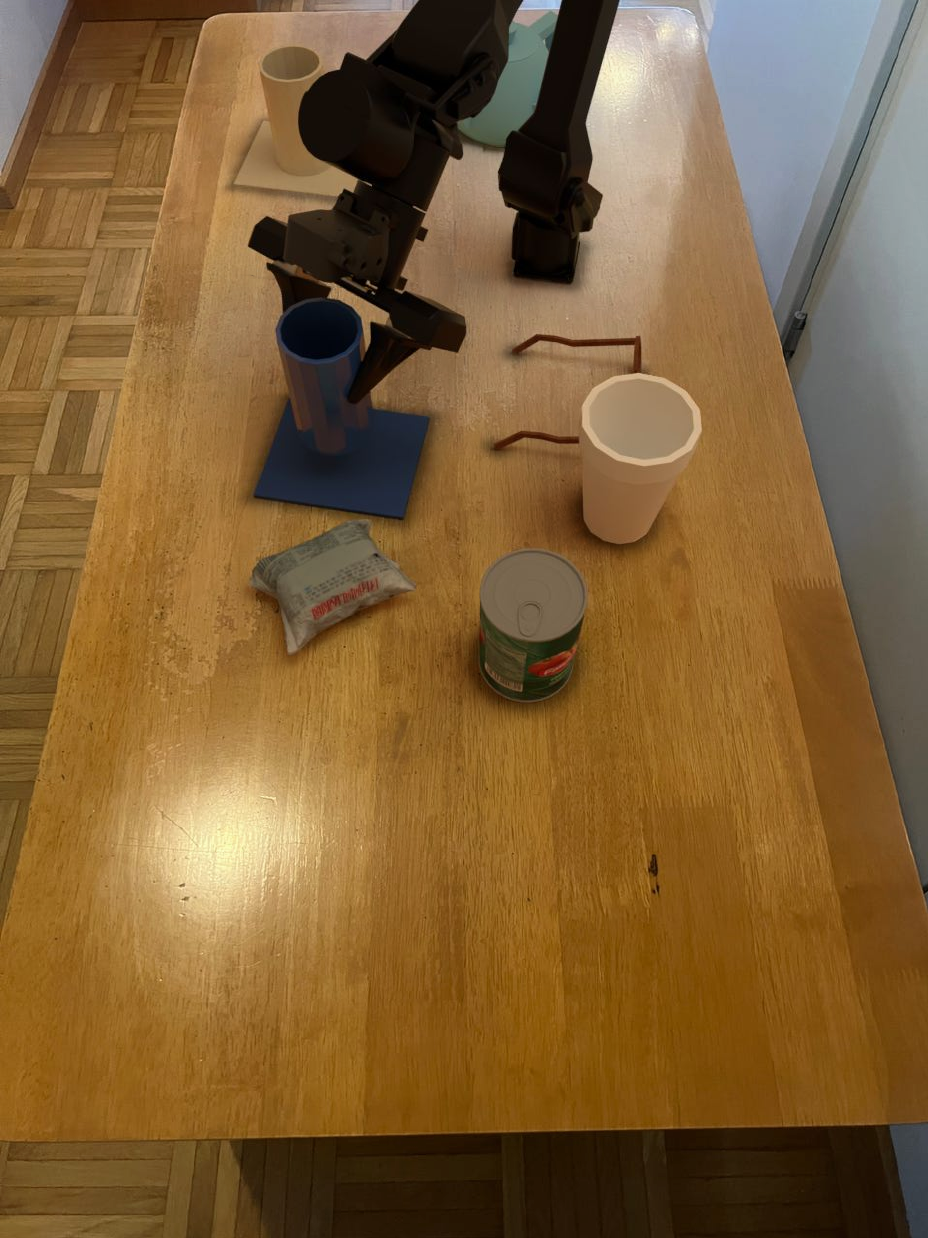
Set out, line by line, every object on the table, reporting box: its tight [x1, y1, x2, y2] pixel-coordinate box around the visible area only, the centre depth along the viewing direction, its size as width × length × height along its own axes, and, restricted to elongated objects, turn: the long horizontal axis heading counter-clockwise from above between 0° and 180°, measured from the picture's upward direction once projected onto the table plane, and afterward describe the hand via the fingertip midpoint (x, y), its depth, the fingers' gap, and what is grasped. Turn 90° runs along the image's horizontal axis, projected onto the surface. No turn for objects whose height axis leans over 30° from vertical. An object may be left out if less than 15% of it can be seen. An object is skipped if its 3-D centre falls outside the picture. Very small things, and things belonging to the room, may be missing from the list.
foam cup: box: [578, 372, 703, 545], centre depth 78 cm, size 10×9×13 cm
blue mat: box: [253, 396, 431, 520], centre depth 87 cm, size 14×12×1 cm
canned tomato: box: [477, 547, 589, 704], centre depth 72 cm, size 8×8×11 cm
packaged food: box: [249, 518, 417, 656], centre depth 78 cm, size 9×12×5 cm
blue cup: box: [274, 297, 374, 456], centre depth 78 cm, size 7×7×12 cm
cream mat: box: [233, 120, 359, 197], centre depth 109 cm, size 14×12×1 cm
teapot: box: [457, 10, 558, 148], centre depth 108 cm, size 15×15×11 cm
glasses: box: [493, 333, 642, 451], centre depth 88 cm, size 13×13×5 cm
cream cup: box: [258, 43, 331, 176], centre depth 104 cm, size 7×7×11 cm
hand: (318, 383), depth 77 cm, fingers closed on blue cup, 7 cm apart
